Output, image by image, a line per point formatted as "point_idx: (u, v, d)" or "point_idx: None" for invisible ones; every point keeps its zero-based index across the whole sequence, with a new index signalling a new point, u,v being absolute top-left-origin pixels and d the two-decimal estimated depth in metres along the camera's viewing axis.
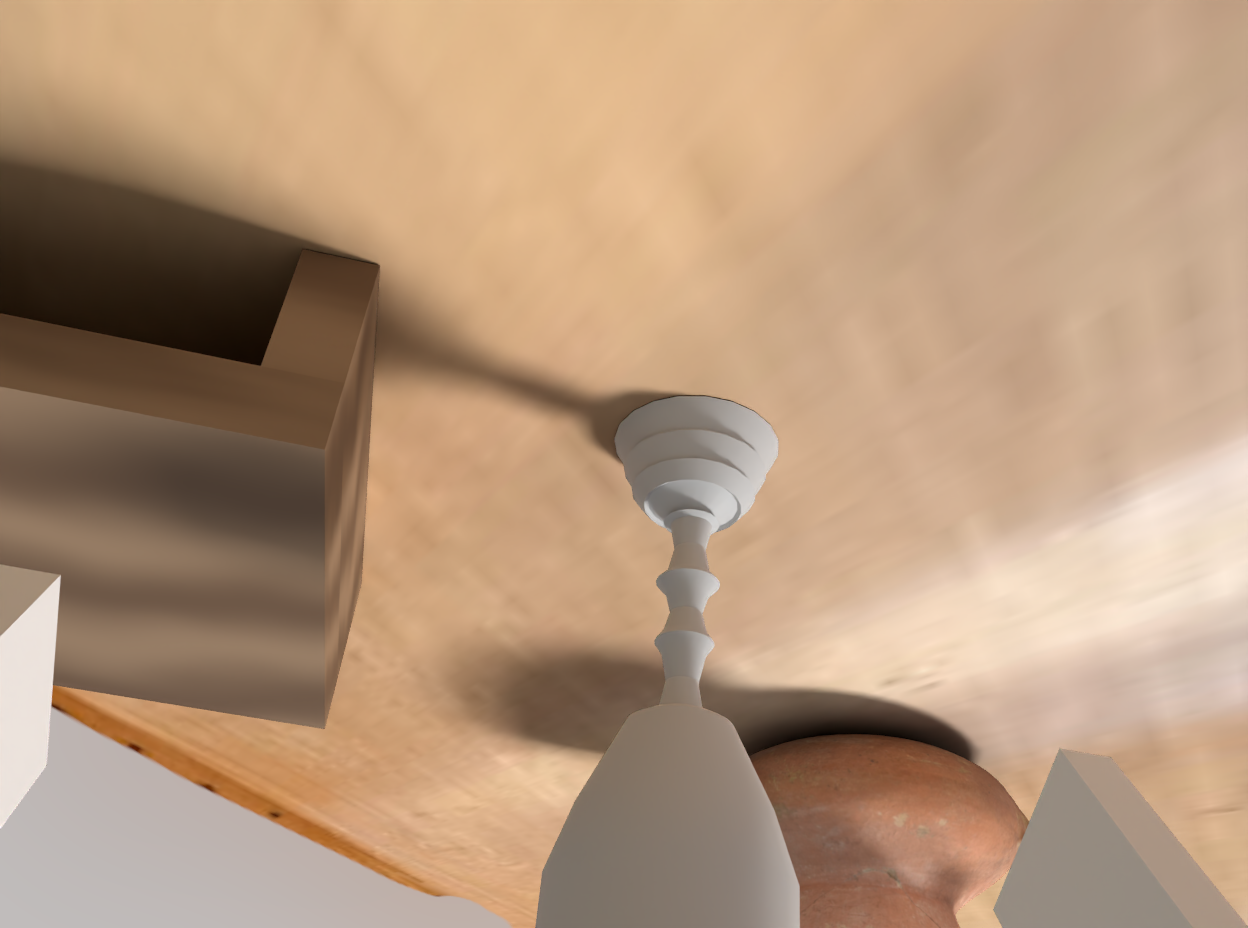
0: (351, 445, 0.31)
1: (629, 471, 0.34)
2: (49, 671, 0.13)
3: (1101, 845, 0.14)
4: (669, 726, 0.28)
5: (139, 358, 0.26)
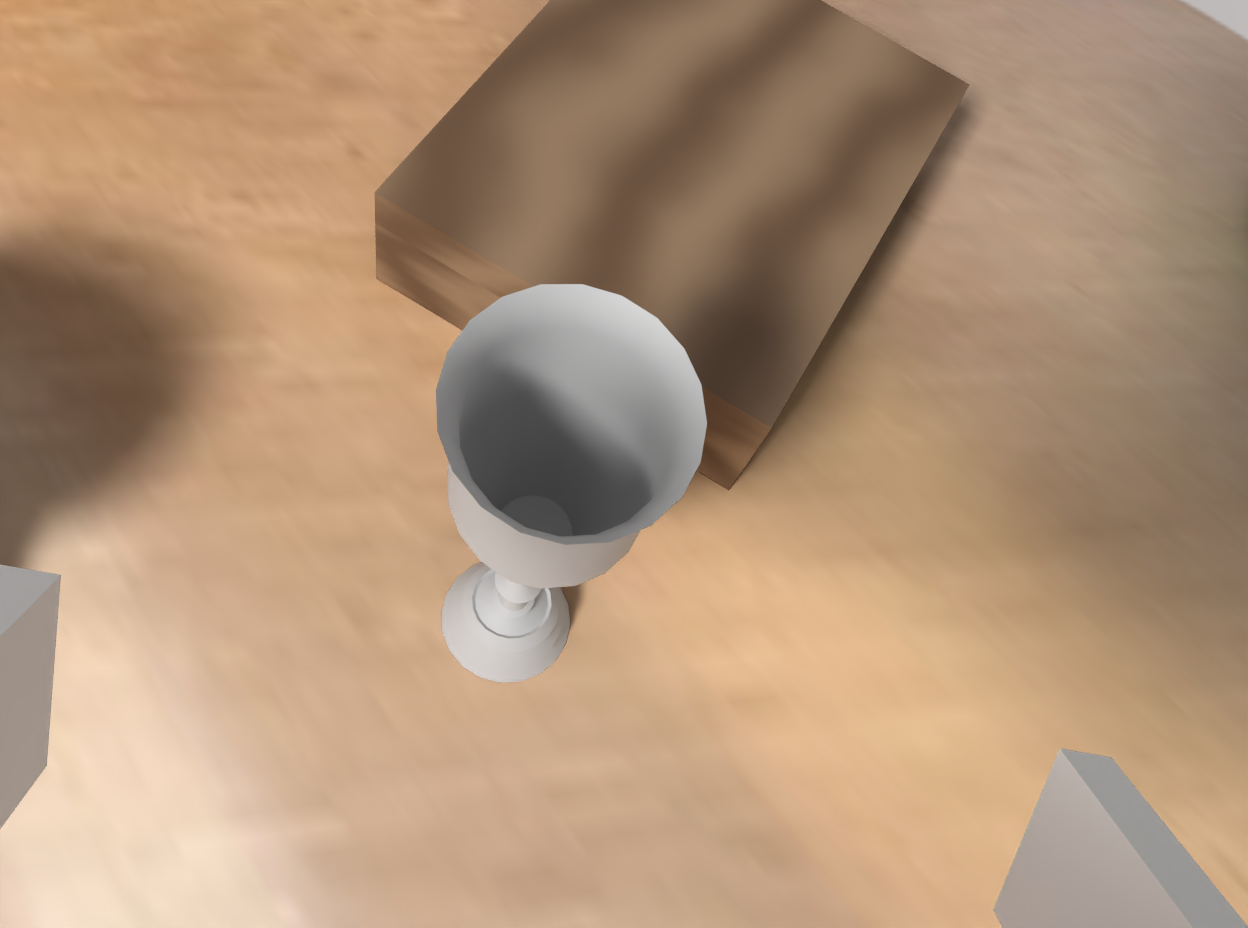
0: None
1: None
2: (49, 671, 0.13)
3: (1101, 844, 0.14)
4: None
5: None
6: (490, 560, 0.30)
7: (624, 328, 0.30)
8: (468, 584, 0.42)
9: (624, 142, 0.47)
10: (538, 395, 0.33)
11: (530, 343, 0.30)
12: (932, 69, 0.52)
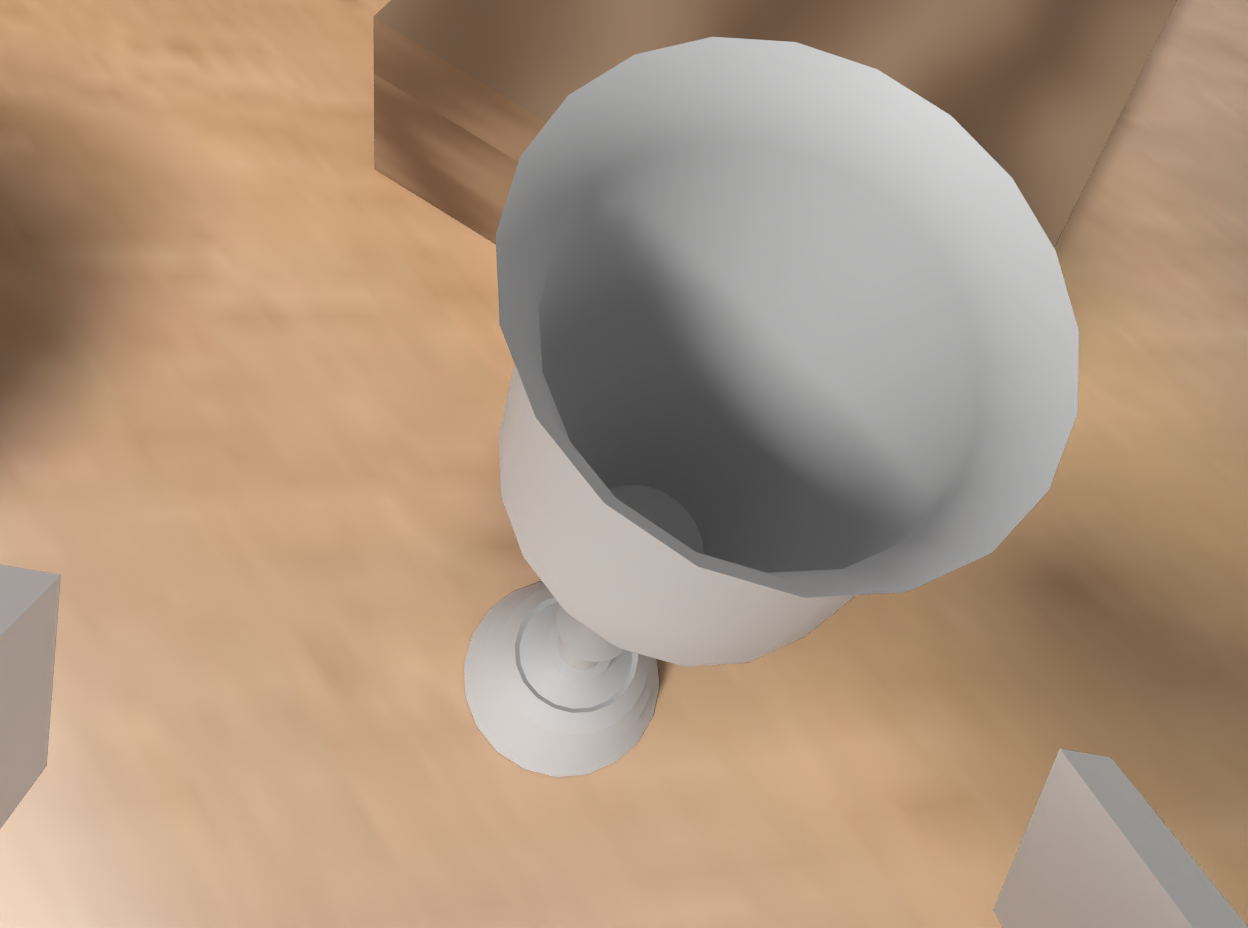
0: None
1: None
2: (49, 671, 0.13)
3: (1101, 844, 0.14)
4: None
5: None
6: (587, 610, 0.15)
7: (874, 142, 0.14)
8: (508, 624, 0.27)
9: None
10: (663, 300, 0.18)
11: (675, 175, 0.15)
12: None
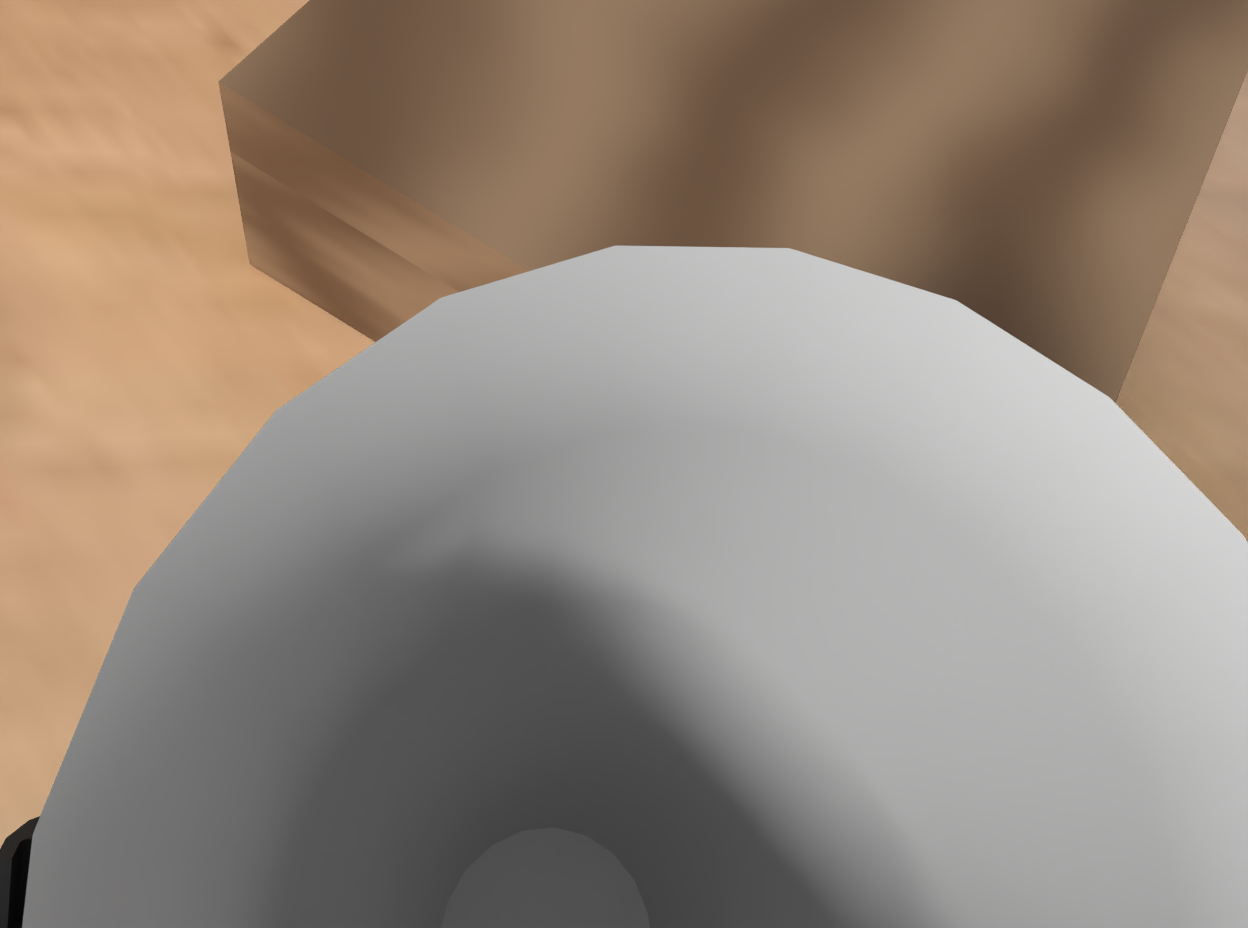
0: None
1: None
2: None
3: None
4: None
5: None
6: None
7: (947, 433, 0.07)
8: None
9: (718, 9, 0.25)
10: (570, 602, 0.11)
11: (559, 481, 0.08)
12: None
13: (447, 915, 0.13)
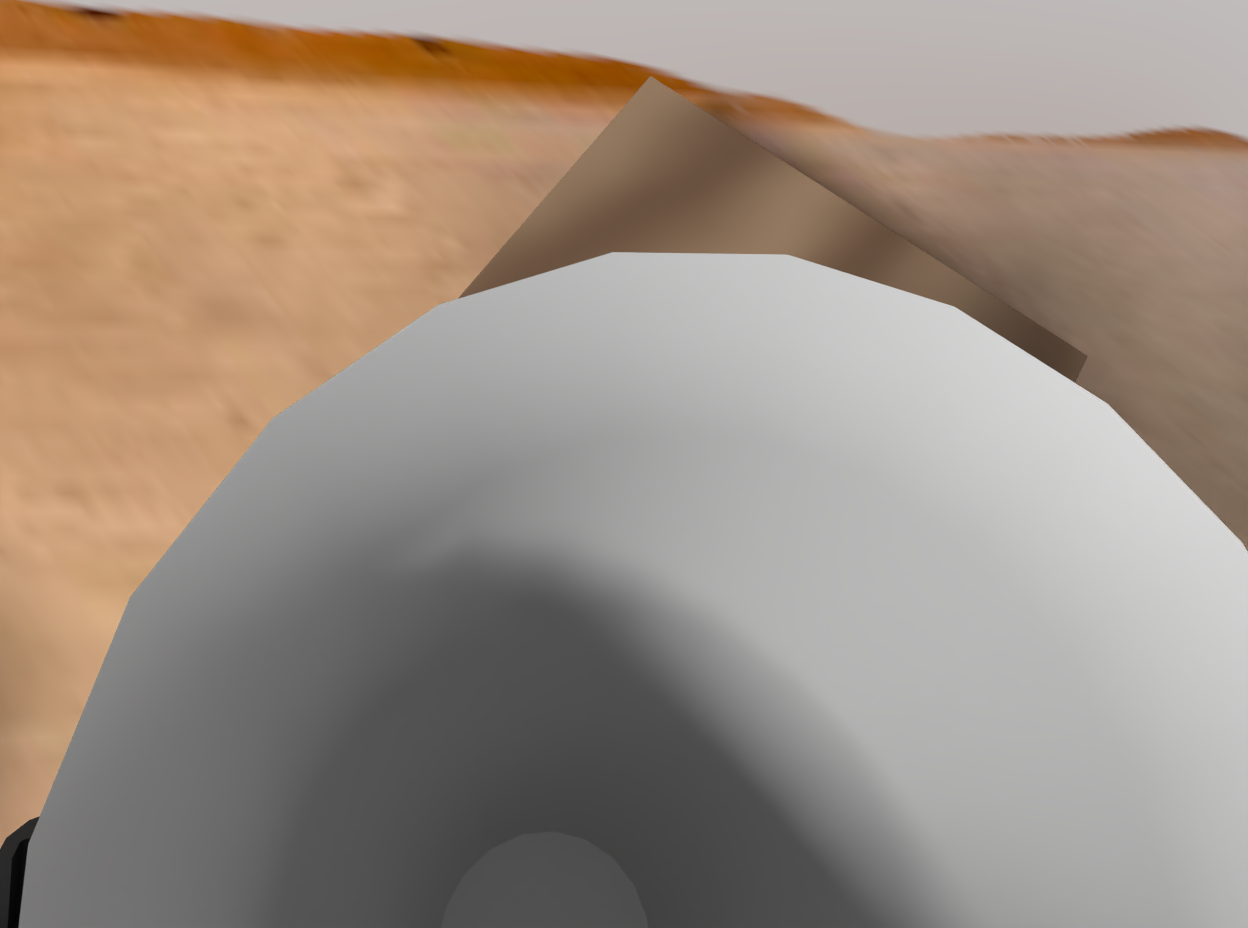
0: None
1: None
2: None
3: None
4: None
5: None
6: None
7: (945, 440, 0.07)
8: None
9: None
10: (570, 606, 0.11)
11: (557, 487, 0.08)
12: (1037, 333, 0.38)
13: (446, 919, 0.13)
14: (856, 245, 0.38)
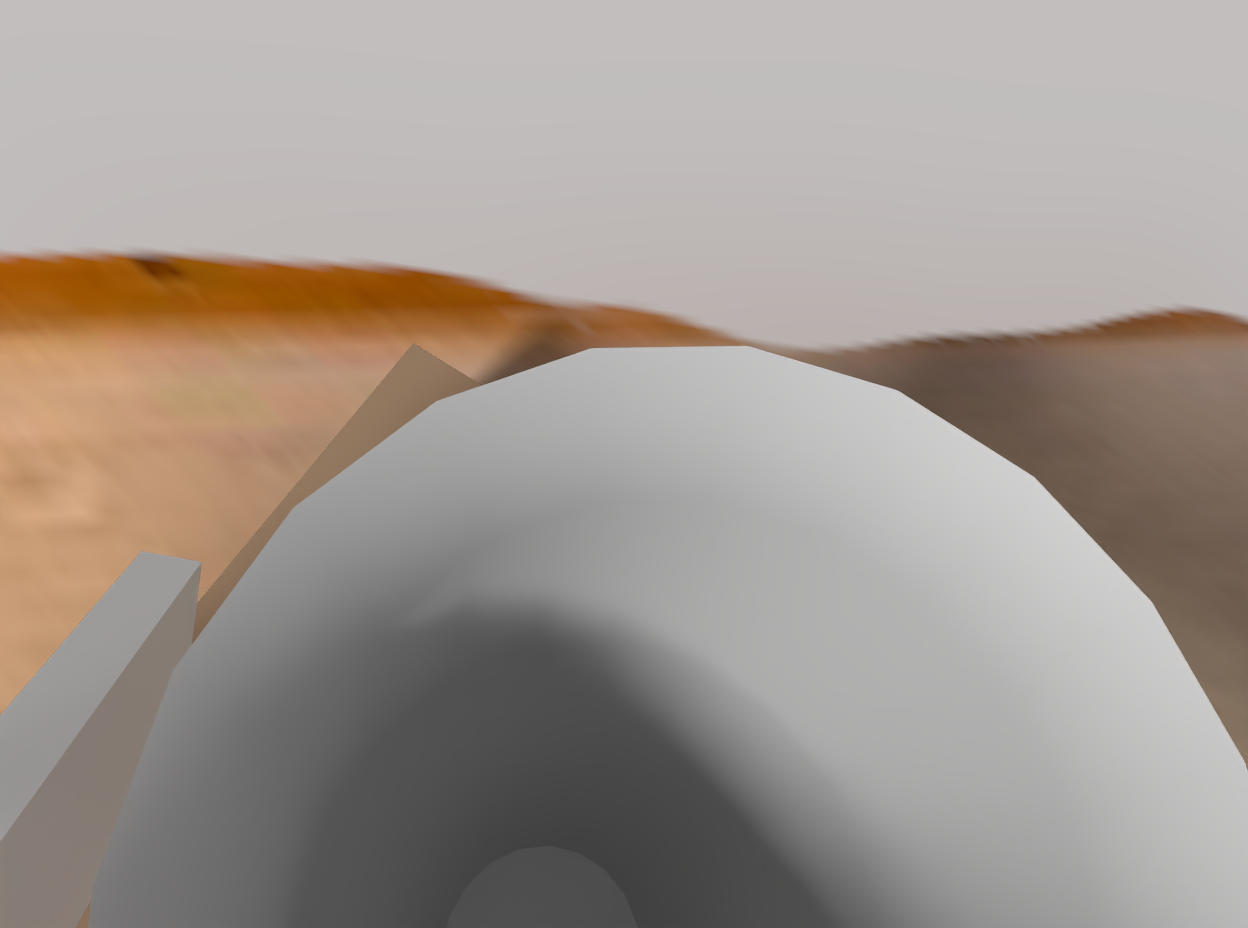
0: None
1: None
2: None
3: None
4: None
5: None
6: None
7: (894, 505, 0.08)
8: None
9: None
10: (562, 641, 0.12)
11: (546, 546, 0.09)
12: None
13: None
14: None
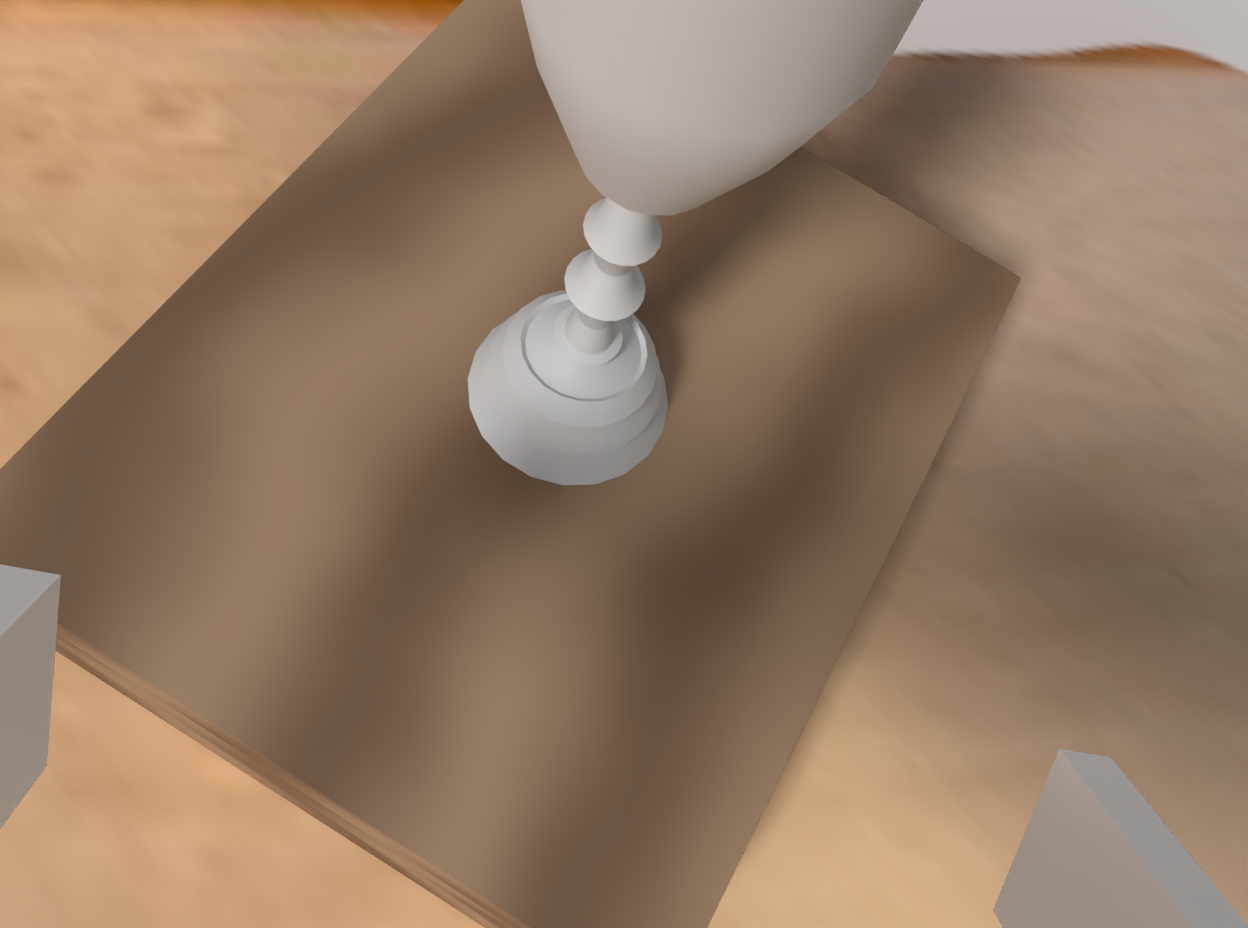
0: (475, 908, 0.25)
1: None
2: (49, 671, 0.13)
3: (1101, 844, 0.14)
4: None
5: None
6: (609, 56, 0.14)
7: None
8: (513, 322, 0.26)
9: (428, 412, 0.27)
10: None
11: None
12: (961, 252, 0.32)
13: None
14: None
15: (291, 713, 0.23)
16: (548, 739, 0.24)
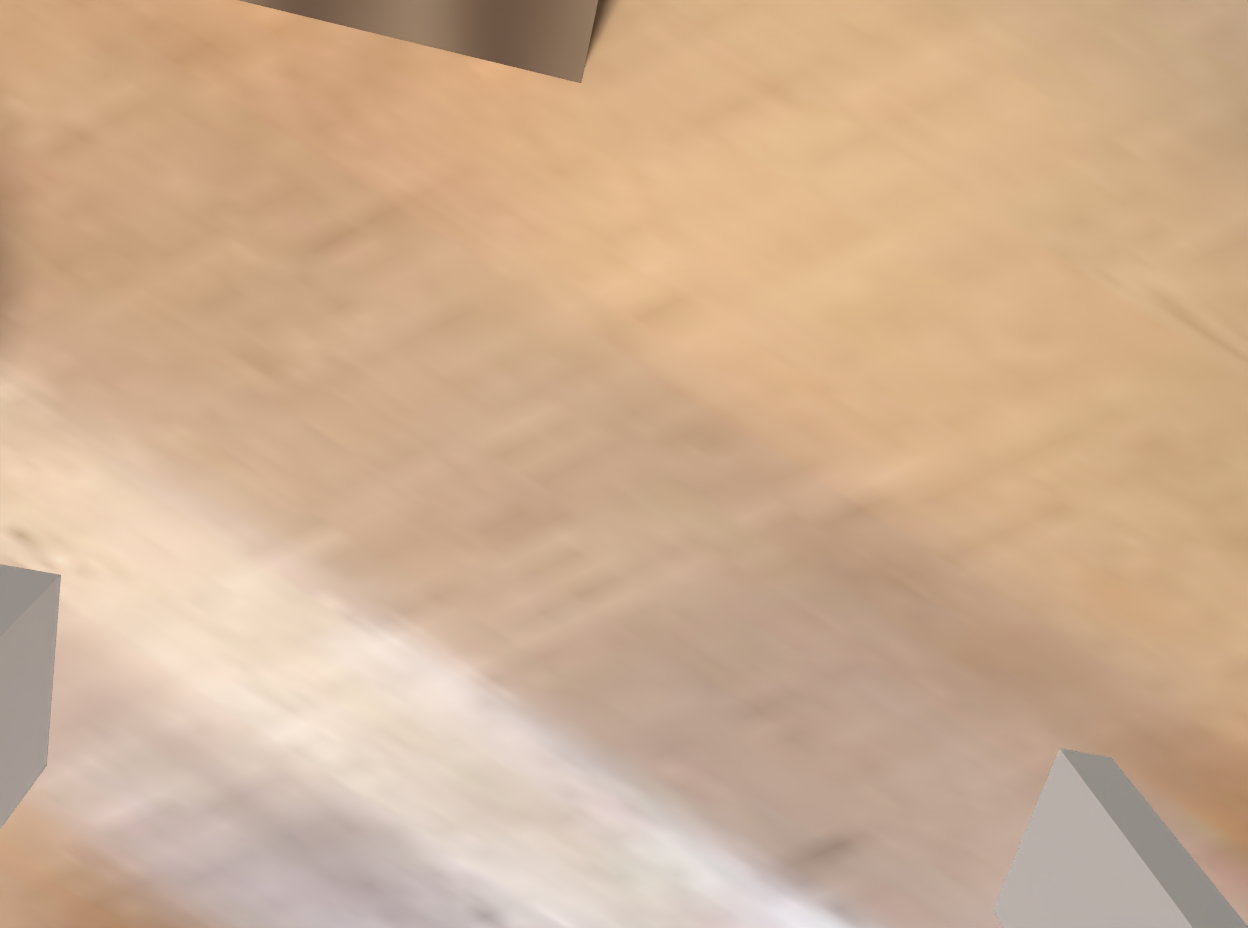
0: None
1: None
2: (49, 671, 0.13)
3: (1101, 845, 0.14)
4: None
5: None
6: None
7: None
8: None
9: None
10: None
11: None
12: None
13: None
14: None
15: None
16: None
